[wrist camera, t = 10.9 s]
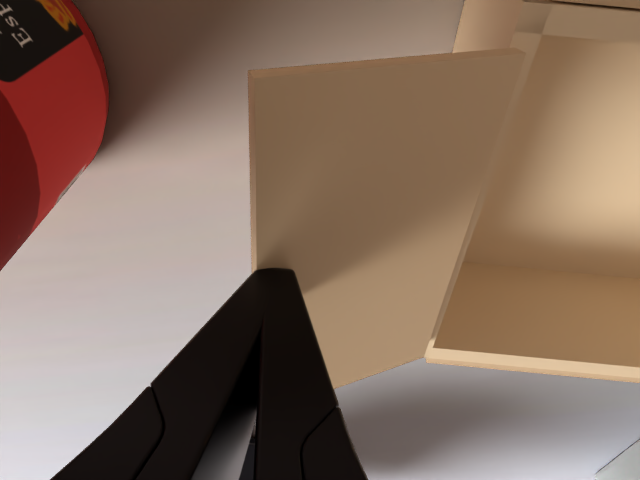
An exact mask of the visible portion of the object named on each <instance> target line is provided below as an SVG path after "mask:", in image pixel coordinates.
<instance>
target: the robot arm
mask: <svg viewBox="0 0 640 480" xmlns="http://www.w3.org/2000/svg"><path fill="white" fill-rule="evenodd" d="M150 385H151V387H150V386H148V387H146V389H145V390H144V391H143V392H142V393H141V394H140V395H139V396H138V397H137V398H136V399H135V401H134V402H133V403H132V404H131V405H130V406H129V407H128V408H127V409H126V410H125V411H124V412H123V413H122V414H121V415H120V416H119V417H118V418H117V419H116V420H115V421H114V422H113V423H112V424H111V425H110V426H109V427H108V428H107V429H106V430H105V431H104V432H103V433H102V434H100V435H99V436H98V437H97V438H96V439H95V440H94V441H93V442H92V443H91V444H90V445H88V446H87V447H86V448H85V449H84V450H83V451H82V452H81V453H80V454H79V455H77V456H76V457H75V458H74V459H73V460H72V461H71V462H69V463H68V464H67V465H66V466H65V467H64V468H63V469H62V470H60V471H59V472H58V473H57V474H56V475H55V476H54V477H52V478H51V479H50V480H368V478H367V476H366V474H365V472H364V469H363V467H362V465H361V463H360V460H359V458H358V456H357V454H356V451H355V448H354V446H353V443H352V440H351V438H350V435H349V432H348V430H347V427H346V424H345V421H344V418H343V415H342V412H341V409H340V408H339V407H338V406H339V404H338V401H337V398H336V395H335V392H334V389H333V386H332V382H331V379H330V376H329V373H328V370H327V367H326V364H325V361H324V358H323V355H322V352H321V349H320V346H319V343H318V340H317V337H316V334H315V331H314V328H313V325H312V322H311V319H310V316H309V313H308V310H307V307H306V304H305V301H304V298H303V295H302V292H301V289H300V286H299V283H298V280H297V277H296V274H295V272H294V270H292V269H286V268H265V269H259V270H255V271H254V272H253V273H252V274H251V275H250V276H249V277H248V278H247V280H246V281H245V282H244V283H243V284H242V285H241V286H240V287H239V288H238V289H237V290H236V291H235V293H234V294H233V295H232V296H231V297H230V298H229V299H228V300H227V301H226V302H225V303H224V304H223V305H222V307H221V308H220V309H219V310H218V311H217V312H216V313H215V314H214V315H213V316H212V317H211V318H210V320H209V321H208V322H207V323H206V324H205V325H204V326H203V327H202V328H201V329H200V330H199V331H198V333H197V334H196V335H195V336H194V337H193V338H192V339H191V340H190V341H189V342H188V343H187V344H186V346H185V347H184V348H183V349H182V350H181V351H180V352H179V353H178V354H177V355H176V356H175V357H174V359H173V360H172V361H171V362H170V363H169V364H168V365H167V366H166V367H165V368H164V369H163V370H162V372H161V373H160V374H159V375H158V376H157V377H156V378H155V379H154V380H153V381H152V382H151V384H150ZM255 420H256V432H255V439H253V438H251V434H252V431H253V427H254V424H255Z"/></svg>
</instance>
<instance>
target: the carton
mask: <svg viewBox="0 0 640 480" xmlns="http://www.w3.org/2000/svg"><path fill="white" fill-rule="evenodd" d="M503 48H517V49H519V50H521V51H523V52H525V53H526V55H525V58H524V61H523V64H522V67H521V70H520V73H519V76H518V79H517V82H516V85H515V88H514V91H513V94H512V97H511V100H510V103H509V106H508V109H507V112H506V115H505V118H504V121H503V124H502V127H501V130H500V133H499V136H498V138H497V141H496V144H495V147H494V150H493V153H492V156H491V159H490V162H489V165H488V168H487V171H486V174H485V177H484V180H483V183H482V186H481V189H480V192H479V195H478V198H477V201H476V204H475V207H474V210H473V213H472V216H471V219H470V222H469V225H468V228H467V231H466V234H465V237H464V240H463V243H462V246H461V249H460V252H459V255H458V257H457V260H456V263H455V266H454V269H453V272H452V275H451V278H450V281H449V284H448V287H447V290H446V293H445V296H444V299H443V302H442V305H441V308H440V311H439V314H438V317H437V320H436V323H435V326H434V329H433V332H432V335H431V338H430V341H429V344H428V347H427V350H426V353H425V356H424V357H422V358H426V363H436V364H447V365H457V366H468V367H478V368H489V369H499V370H510V371H520V372H531V373H541V374H551V375H562V376H572V377H583V378H593V379H604V380H614V381H625V382H635V383H640V0H465V2H464V6H463V10H462V14H461V18H460V22H459V26H458V31H457V35H456V39H455V43H454V47H453V51H452V53H457V52H468V51H480V50H492V49H503Z"/></svg>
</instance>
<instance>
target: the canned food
mask: <svg viewBox="0 0 640 480" xmlns="http://www.w3.org/2000/svg"><path fill="white" fill-rule="evenodd" d="M108 109H109V85H108V80H107V75H106V71H105V66H104V61H103V58H102V56H101V53H100V51H99V48H98V46H97V43H96V41H95V38H94V36H93V34H92V32H91V30H90V29H89V27H88V25H87V24H86V22H85V20H84V19H83V17H82V15H81V14H80V12H79V10H78V9H77V7H76V6H75V5H74V4H73V2H72V1H71V0H0V271H1V270H2V268H3V267H4V266H5V265H6V264H7V262H8V261H9V260H10V259H11V258H12V256H13V255H14V254H15V253H16V252H17V250H18V249H19V248H20V247H21V246H22V244H23V243H24V242H25V241H26V240H27V238H28V237H29V236H30V235H31V234H32V232H33V231H34V230H35V229H36V227H37V226H38V225H39V224H40V223H41V221H42V220H43V219H44V218H45V217H46V215H47V214H48V213H49V212H50V211H51V209H52V208H53V207H54V206H55V205H56V203H57V202H58V201H59V200H60V199H61V197H62V196H63V195H64V194H65V193H66V191H67V190H68V189H69V188H70V187H71V185H72V184H73V183H74V182H75V181H76V179H77V178H78V177H79V176H80V175H81V173H82V172H83V171H84V170H85V169H86V167H87V166H88V165H89V164H90V163H91V161H92V160H93V159H94V157H95V155H96V153H97V151H98V148H99V146H100V144H101V142H102V138H103V134H104V129H105V124H106V119H107V114H108Z"/></svg>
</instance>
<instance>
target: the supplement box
mask: <svg viewBox="0 0 640 480" xmlns="http://www.w3.org/2000/svg"><path fill="white" fill-rule="evenodd" d="M595 480H640V440H638V441H637V442H636V443H634V444H633V445H632V446H631V447H629V448H628V449H627V450H625V451H624V452H623V453H622V454H620V455H619V456H618V457H617V458H615V459H614V460H613V461H612V462H610V463H609V464H608V465H606V466H605V467H604V468H602V469H601V470H600V471H599V472H597V473H596V474H595Z"/></svg>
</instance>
